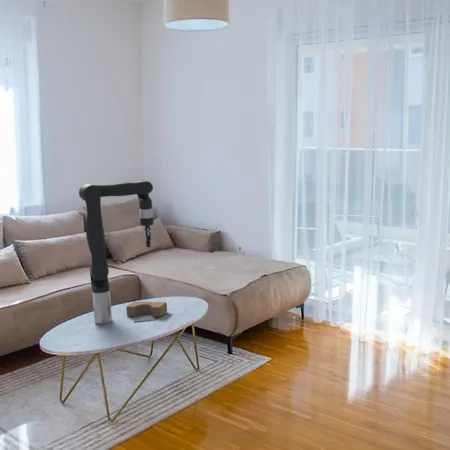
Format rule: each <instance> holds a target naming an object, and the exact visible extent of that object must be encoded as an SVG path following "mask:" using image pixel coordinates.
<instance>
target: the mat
mask: <svg viewBox="0 0 450 450" xmlns="http://www.w3.org/2000/svg"><path fill="white" fill-rule="evenodd" d="M132 319H133V323H134V324H135V323H142V322H143V323H144V322H151V321H157V317H153V316H152V314H139V315H136V316H132Z"/></svg>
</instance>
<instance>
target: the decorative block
mask: <svg viewBox="0 0 450 450" xmlns="http://www.w3.org/2000/svg"><path fill="white" fill-rule="evenodd" d="M125 308H126V309H125V310H126V316H127V317H133V316H136V315H142V314H152V316H153V317H156V318H159V317H160V318H161V317H162V316H163V315H164V314H165V313H167V312H168V304H167V302H166V301H133V302H131V303H130V304H128V305H127V306H126V307H125Z"/></svg>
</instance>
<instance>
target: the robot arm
mask: <svg viewBox="0 0 450 450" xmlns="http://www.w3.org/2000/svg"><path fill="white" fill-rule="evenodd" d="M153 190H154V186H153V183H152V182H150V181H147V180H139V181H138V182H129V181H127V182H120V183H113V184H111V183H110V184H103V185H101V184H100V185H99V184H91V183H88V184H87V183H85V184H84V185H82V186H81V187H80V188H79V190H78V196H79V197H80V199H81V200H83V201H85V207H86V211H87V212H86V219H85V220H86V221H85V235H86V242H87V245H88V249H89V253H90V256H91V265H90V267H89V276H90V285H91V286H90V287H91V293H92V303H93V305H92V306H93V316H94V324H95V325H96V324H98V325H104V324H105V325H106V324H108V323H111V322H112V321H113V316H112V304H111V303H112V302H111V292H110V291H111V288H110V284H109V272H110V271H109V266H108V262H107V258H106V243H105V241H106V239H105V232H104V231H105V229H104V223H103V216H102V210H101V209H102V206H101V198H105V197H127V196H133V195H137V199H138V204H139V225H140V226H142V227H143V233H144V237H145V244H146V245H145V247H146V248H151V240H152V227H150V226H153V225H154V224H155V223H154V222H155V221H154V212H153V211H154V210H153V200H152V198H151V197H150V193H152V192H153Z"/></svg>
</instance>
